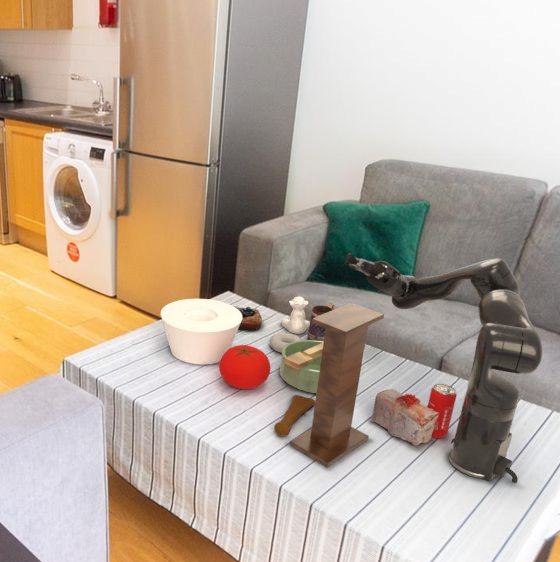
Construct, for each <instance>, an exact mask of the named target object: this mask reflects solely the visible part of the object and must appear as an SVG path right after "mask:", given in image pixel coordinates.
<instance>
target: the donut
mask: <svg viewBox="0 0 560 562" xmlns="http://www.w3.org/2000/svg"><path fill="white" fill-rule="evenodd" d="M299 340H302V338H301V337H299V336H298V335H297V334H294V333H288V332H280V333H276V334H274V335H272V336H271V337H270V338H269V345H270V347H271V348H272V349H273V350H274V351H275V352H278V353H280V354H282V349H283V347H284V346H285V345H286V344H289V343H291V342H294V341H299Z"/></svg>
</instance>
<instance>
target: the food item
mask: <svg viewBox="0 0 560 562" xmlns="http://www.w3.org/2000/svg"><path fill="white" fill-rule="evenodd" d="M438 417H439V413H438V412H435V411H433V410H431V409H430V408H428V406H425V405H423V404H422V403H421V400H420V399H419V398H417V397H416V395H415V394H411V393H410V394H409V393H405V394H403V393H401V392H399V391H397V390H396V389H394V388H388V389H385V390H382V391H380V392H377V394H376V395H375V400H374V404H373V409H372V415H371V422H373V423H375V424H378V425H379V426H380V427H383V428H384V429H386V430H387V431H388V433H389V435H390V436H392V437H394V438H400V439H401V440H403V441H406V442H408V443H410V444H412V446H416V447H417V446H418V445H420V444H427V443H428V442H429V441H431V440H432V438H433V437H432V433H433V429H434V426H435V422H436V421H437V419H438Z"/></svg>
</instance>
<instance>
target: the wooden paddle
mask: <svg viewBox="0 0 560 562" xmlns="http://www.w3.org/2000/svg"><path fill="white" fill-rule="evenodd" d="M323 343H324V342H323ZM323 343H321V344H319V345H316V346H314V347H312V348H310V349H307V350H305V351H303V353H301V352H298V353H296V354H293V355H291V356H289V357H287V358H285V364H287V365H289V366H291V367H293V368H295V369H297V370H299V369H301V368H303V367H306V366H308V365H310V364H312V363H313V359H315V358H318V357H320V356H322V351H323Z"/></svg>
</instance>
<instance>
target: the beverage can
mask: <svg viewBox="0 0 560 562" xmlns="http://www.w3.org/2000/svg"><path fill="white" fill-rule="evenodd" d="M456 399H457V390H456V389H455V388H454V387H453V386H452V385H451V386H450V385H449V384H444V383H436V384H433V386H432V388H431V390H430V395H429V398H428V403H427V407H428V408H430V409H431V410H433V411H435V412H438V413H439V417H438V419H437V421H436V422H435V426H434V429H433V433H432V437H431V438H433V439H438V440H439V439H444V438H445V436H446V435H447V434H448V432H449V428H450V424H451V419H452V416H453V412H454V407H455V404H456Z"/></svg>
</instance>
